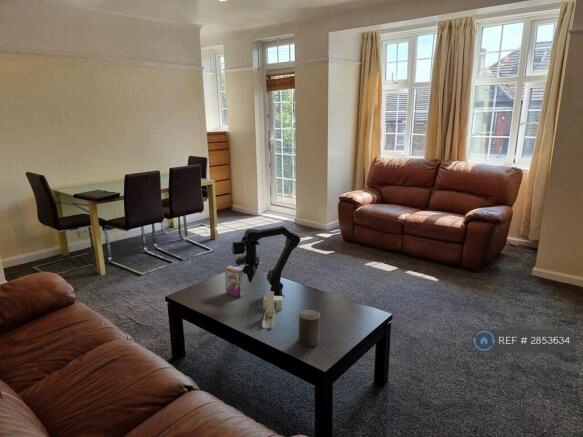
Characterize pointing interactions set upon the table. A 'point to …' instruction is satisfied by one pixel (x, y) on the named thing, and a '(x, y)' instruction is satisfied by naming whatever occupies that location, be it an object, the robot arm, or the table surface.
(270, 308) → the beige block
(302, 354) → the table surface
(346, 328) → the table surface
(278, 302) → the socket block
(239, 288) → the candy bar box
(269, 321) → the u-shaped channel
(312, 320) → the pillar candle
